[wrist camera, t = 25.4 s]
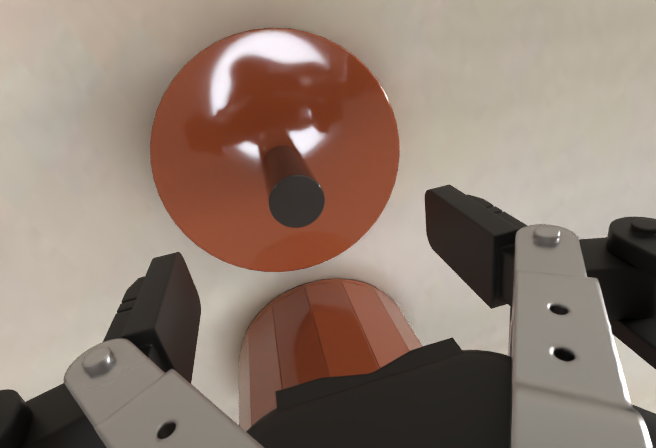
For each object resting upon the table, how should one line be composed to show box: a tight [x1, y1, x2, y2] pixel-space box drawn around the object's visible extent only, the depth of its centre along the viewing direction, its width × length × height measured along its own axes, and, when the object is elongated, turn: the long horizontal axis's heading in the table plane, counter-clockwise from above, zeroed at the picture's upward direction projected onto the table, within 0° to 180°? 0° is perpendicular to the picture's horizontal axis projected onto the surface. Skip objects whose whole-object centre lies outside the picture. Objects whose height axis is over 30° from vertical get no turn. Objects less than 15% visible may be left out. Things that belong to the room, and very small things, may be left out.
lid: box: [150, 28, 399, 272], centre depth 19 cm, size 14×14×7 cm
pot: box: [239, 279, 423, 431], centre depth 24 cm, size 13×13×10 cm
